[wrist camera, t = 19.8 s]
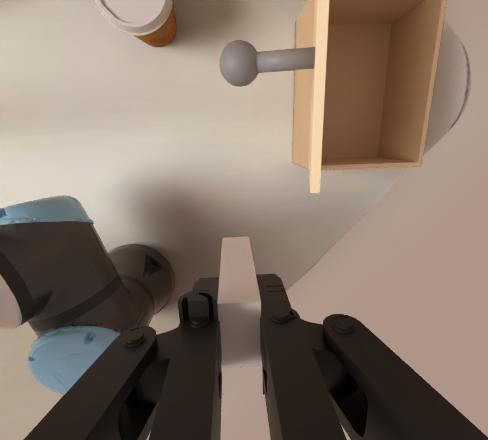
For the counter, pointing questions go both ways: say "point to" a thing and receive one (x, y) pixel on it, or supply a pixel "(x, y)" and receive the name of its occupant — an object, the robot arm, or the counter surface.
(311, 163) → the lid flap
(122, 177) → the counter surface
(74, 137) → the counter surface
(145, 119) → the counter surface
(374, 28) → the carton
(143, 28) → the disposable coffee cup
